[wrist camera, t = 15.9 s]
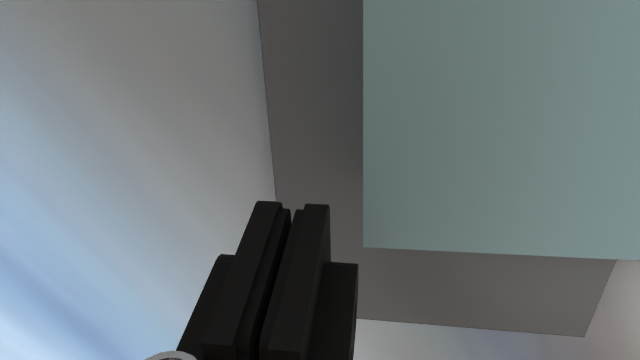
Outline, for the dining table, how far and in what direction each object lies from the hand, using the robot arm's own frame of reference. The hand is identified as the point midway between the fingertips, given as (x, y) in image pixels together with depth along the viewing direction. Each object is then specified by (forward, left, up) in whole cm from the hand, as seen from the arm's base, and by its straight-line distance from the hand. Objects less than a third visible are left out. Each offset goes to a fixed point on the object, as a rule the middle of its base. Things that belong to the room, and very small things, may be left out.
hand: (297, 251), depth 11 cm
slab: (-3, +1, -3) cm, 4 cm away
